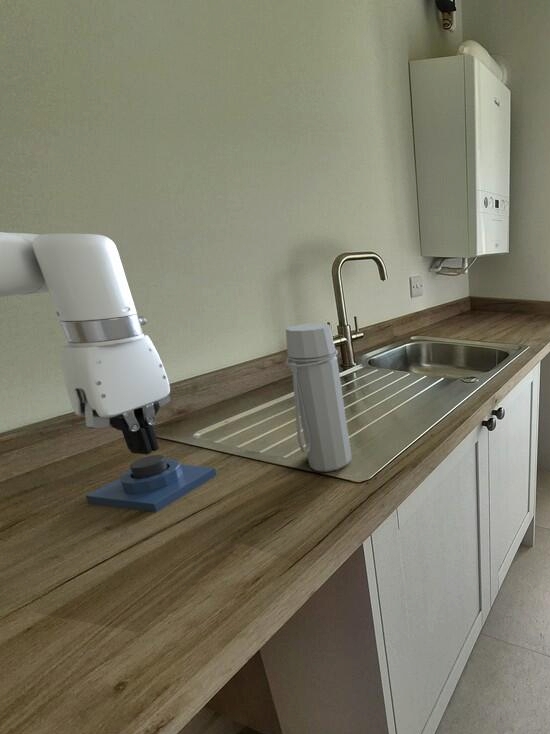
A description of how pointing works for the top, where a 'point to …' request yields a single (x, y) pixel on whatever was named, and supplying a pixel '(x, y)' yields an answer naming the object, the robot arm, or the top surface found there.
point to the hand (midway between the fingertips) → (145, 451)
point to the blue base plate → (152, 488)
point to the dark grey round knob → (148, 466)
